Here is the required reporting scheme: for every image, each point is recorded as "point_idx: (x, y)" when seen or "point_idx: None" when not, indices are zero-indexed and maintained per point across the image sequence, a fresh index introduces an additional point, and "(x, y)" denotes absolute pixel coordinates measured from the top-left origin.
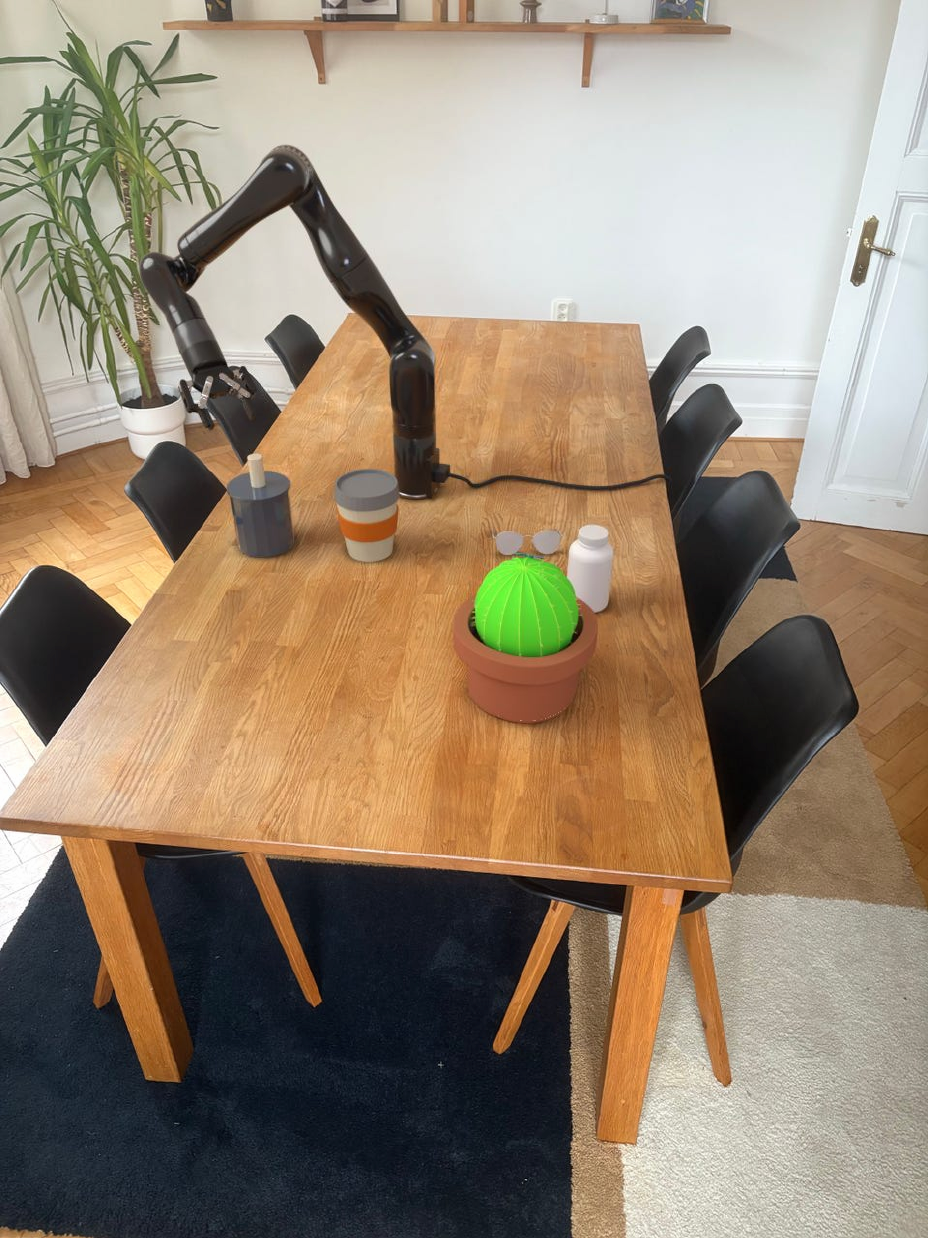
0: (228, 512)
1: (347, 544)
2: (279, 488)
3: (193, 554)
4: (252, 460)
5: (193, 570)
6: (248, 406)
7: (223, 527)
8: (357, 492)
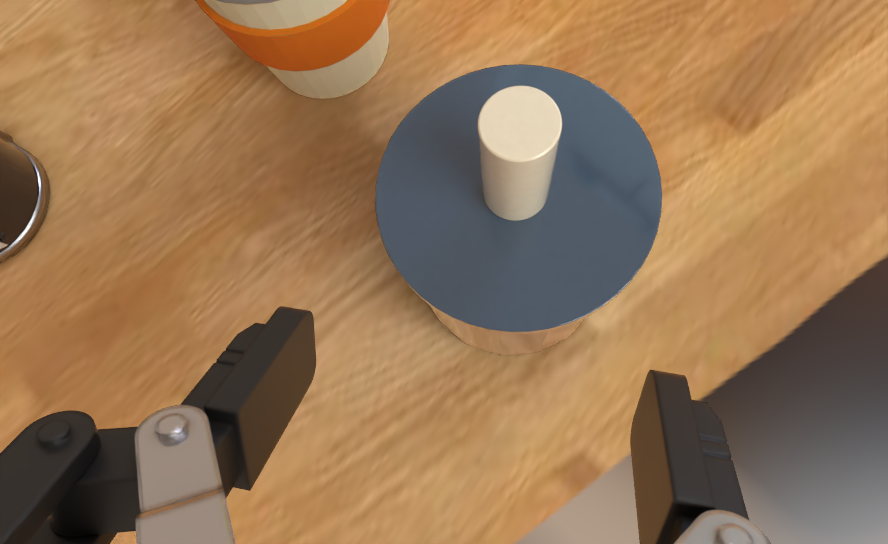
0: (478, 541)
1: (382, 33)
2: (470, 105)
3: (726, 377)
4: (552, 102)
5: (774, 292)
6: (271, 357)
7: (553, 458)
8: None
